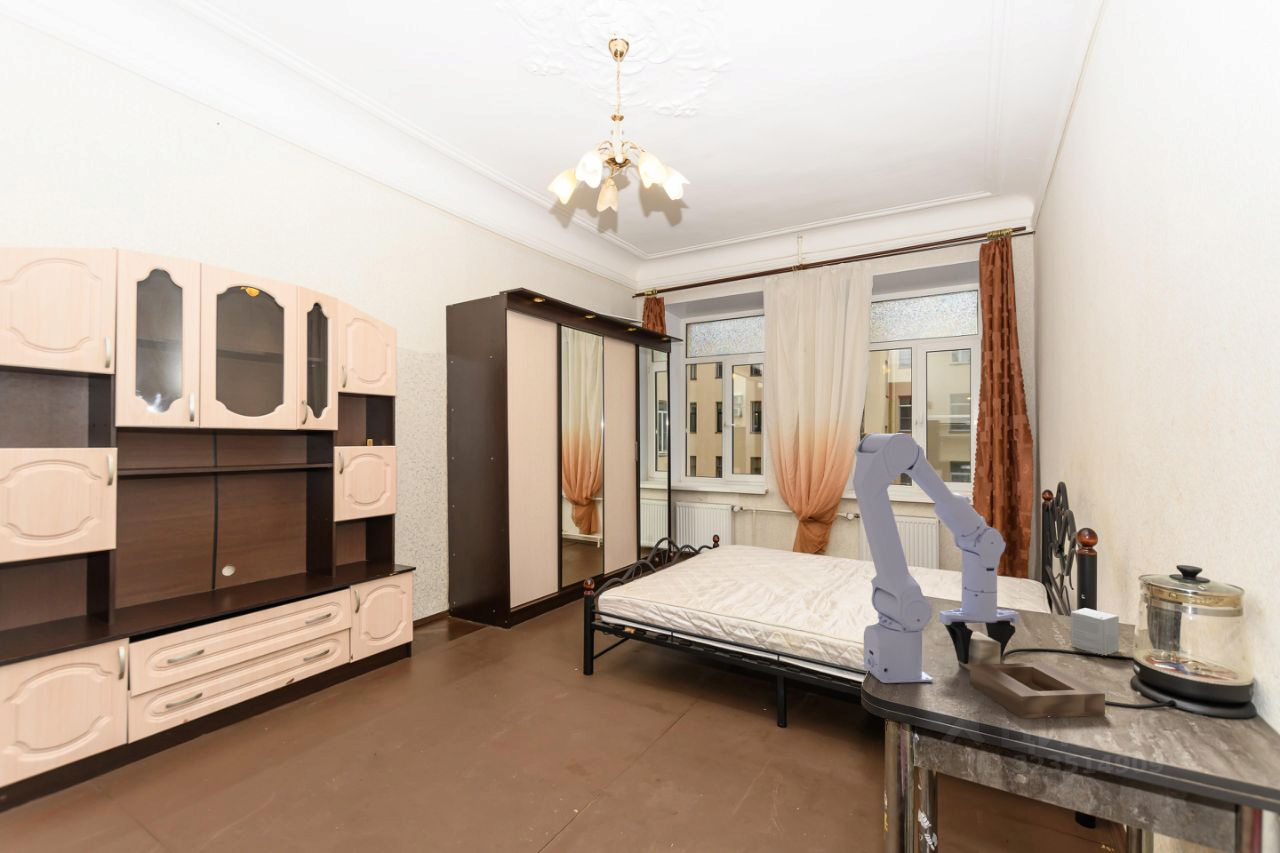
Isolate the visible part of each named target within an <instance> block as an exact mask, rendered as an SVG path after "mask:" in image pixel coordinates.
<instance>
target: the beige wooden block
mask: <svg viewBox="0 0 1280 853" xmlns="http://www.w3.org/2000/svg"><path fill="white" fill-rule="evenodd" d="M1000 655H1001V643H999V642H997V641H995V640H994V639H992V638H990V637H988V635H986V634H984V633H982V632H980V631H973V633H972V636H971V639H970V644H969V661H968V664H963V663H961V662H960V661H958V660H957V661H958V664H959V665H961V666H962V667H963V668H966V669H967V670H969V671H970V665H980V664H1001V663H1000Z"/></svg>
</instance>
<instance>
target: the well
mask: <svg viewBox="0 0 1280 853" xmlns="http://www.w3.org/2000/svg"><path fill="white" fill-rule="evenodd" d="M969 685H970V686H971V687H973V688H975V689H977V690H978V691H979V690H980V692H981V693H982V692H983V694H984V695H985V694H986V696H987V695H988V696H989V699H991V698H992V699H991V700H993V701H994V700H995V701H994V702H996V703H998V704H999V705H1001V707H1003V708H1005V709H1006V710H1008V711H1009V712H1011V713H1012V714H1014V715H1015V716H1016V717H1018V716H1019V718H1020V719H1041V717H1047V718H1049V717H1048V716H1057V717H1056V718H1067V717H1074V718H1075V717H1091V716H1092V717H1093V716H1095V717H1096V716H1106V693H1105V692H1103V691H1101V690H1099V689H1097V688H1095V687H1093V686H1091V685H1089V684H1087V683H1085V682H1084V681H1081V680H1079V679H1077V678H1076V677H1073V676H1072V675H1069V674H1067V673H1065V672H1063V671H1061V670H1059V669H1058V668H1056V667H1054V666H1052V665H1049V664H1048V663H1046V662H1023V663H1022V662H1019V663H1000V664H980V665H970V670H969ZM988 696H987V697H988Z"/></svg>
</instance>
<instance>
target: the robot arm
mask: <svg viewBox="0 0 1280 853" xmlns="http://www.w3.org/2000/svg"><path fill="white" fill-rule="evenodd" d="M854 453H855V457H856V462H855V467H854V473H853V478H852V479H853V480H852V485H853V489H854V494H855V497H856V500H857V501H856V502H857V505H858V509H859V513H860V516H861V517H860V518H861V520H862V523H863V527H864V531H865V534H866V539H867V543H868V545H869V549H870V554H871V557H872V561H873V565H874V569H875V572H876V575H875V576H874V577H873V578H872V579H871V587H872V593H871V604H872V606H873V609H874V610H875V611H876V612H877V619H878V622H876V623H875V624H871V625H867V626H866V627H865V629H864V631H863V662H862V663H861V666H862V667H863V668H865V670H866V671H868V672H869V669H870V666H871V669H870V672H869V673H870V674H871V675H872V676H874V678H876V679H877V680H879V682H881V683H882V684H891V683H892V684H896V683H924V682H925V683H927V682H933V681H934V679H933V677H932V676H930V675H928V674H927V673H926V672H924V671H923V632H924V631H925V627H926V626H927V625H928V624H929V623H930V621H931V618H932V607H931V603H930V602H929V600H928V599H927V598H926V597H925V596H924V594H923V592H922V588H921V586H920V584H919V583H918V582H917V580H916V579H915V577H914V576H912V574H911V573H910V572H909V567H908V565H907V560H906V556H905V552H904V548H903V545H902V542H901V537H900V534H899V529H898V526H897V522H896V519H895V514H894V511H893V507H892V504H891V500H890V496H889V492H888V489H889V487H890V486H891V484H892V483H893V481H895V480H896V479H897V478H898V477H900V475H901V474H905V475H908V477H909V478H910V479H912V481H914V482H915V484H916V485H917V486H918V487H919V488H920V489H921V490H922V491H923V492H924V493H925V494H926V495H927V496H928V497H929V498H930V499H931V501H932V502H934V509H933V510H934V513H935V515H936V516H937V517H938V518H939V519H940V520H941V521H942V523H943V524H944V525H945V526H946V527H947V528H948V530H949V531H950V532H951V533H952V534H953V541H954V545H955V547H957V548H959V549H960V550H961V606H960V607H959V608H956V609H951V610H942V611H939V612H938V616H939V618H938V619H939V620H938V622H940V623H942V624H943V625H944V626H945V629H946V630H947V632H948V635H949V636H950V638H951V640H952V644H953V646H954V650H955V653H956V659H957V661H960V662H961V663H963V664H968V661H969V644H970V639H971V636H972V633H973V632H974V631H973V630H972V629H970V628H968V625H966V624H985V627H986V633H987V636H988V637H990V638H992V639H994V640H995V641H997V642H999V643H1001V655H1000V664H1002V659H1003V656H1004V652H1005V649H1006V646H1007V645H1008V644H1009V641H1010V639H1011V638H1012V637H1013V636H1014V634H1016V626H1014V625H1013V624H1020V612H1017V611H1014V610H1012V609H998V567H999V565H1000V561H1001V560H1000V558H1001V556H1002V554H1003V553H1004V552H1005V550H1006V542H1005V541H1004V539H1003V538H1004V537H1003V536H1002V535H1001V534H1002V533H1001V532H1000V531H999V530H998V529H996V528H995V527H991V526H988V524H987V523H986V521H987V520H986V519H985V517H984V516H983V515H980V514H979V513H978V512H977V510H976V509H974V507H973V506H972V504H971V502H972V500H971V499H970V498H969V497H968V496H964V495H963V494H961V493H957V492H956V493H955V492H952V491H951V490H950V488H949V487H948V485H946V483H945V482H944V480H943V479H942V478H941V476H940V475H939V473H938V472H937V470H935V468H934V467H933V466H932V464H931V463H930V461H929V460H928V459H927V458H926V455H925V450H924V448H923V447H922V446H920V445H919V444H918V443H917V441H916V440H915V439H914V438H913V437H912V435H910V434H909V433H904V432H897V433H880V432H871V433H867V434H866V435H865V436H863V438H862V439H861V441H860V442H859V443H858V444H857V445H856V447H855V449H854ZM1011 623H1012V624H1011Z"/></svg>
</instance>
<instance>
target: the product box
mask: <svg viewBox="0 0 1280 853" xmlns="http://www.w3.org/2000/svg"><path fill="white" fill-rule="evenodd" d="M1119 618H1120V617H1119V615H1116V614H1112V613H1108V612H1104V611H1103V612H1102V611H1099V610H1095V609H1091V608H1087V607H1084V608H1079V609H1076V610H1073V611H1070V647H1071V646H1072V648H1075V647H1076V649H1079V650H1083V651H1085V652H1089V651H1090V652H1089V653H1093V652H1094V653H1093V654H1096V653H1098V654H1097V655H1099V654H1102V655H1101V656H1103V655H1105V656H1108V655H1107V654H1109V655H1112V654H1114V653H1118V652H1119V651H1120V631H1119V630H1120V627H1119V624H1120V623H1119V620H1120V619H1119Z"/></svg>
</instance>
